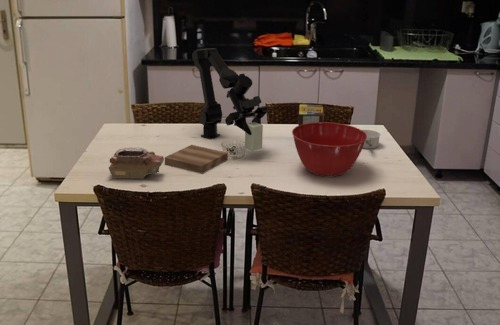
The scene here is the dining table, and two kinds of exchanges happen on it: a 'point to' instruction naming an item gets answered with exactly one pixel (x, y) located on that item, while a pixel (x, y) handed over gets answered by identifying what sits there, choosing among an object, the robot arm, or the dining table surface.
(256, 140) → the sage block
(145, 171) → the decorative box
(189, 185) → the dining table surface
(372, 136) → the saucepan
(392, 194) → the dining table surface
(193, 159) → the walnut base
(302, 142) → the mixing bowl
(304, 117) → the protein box
